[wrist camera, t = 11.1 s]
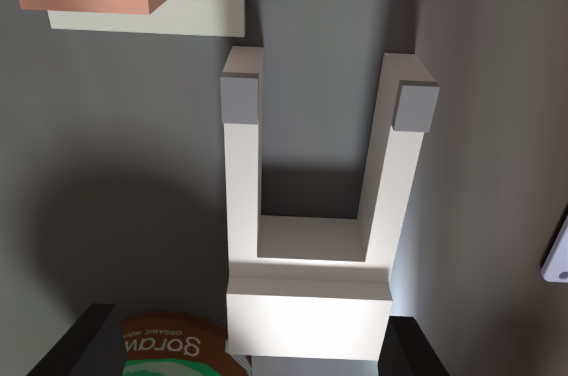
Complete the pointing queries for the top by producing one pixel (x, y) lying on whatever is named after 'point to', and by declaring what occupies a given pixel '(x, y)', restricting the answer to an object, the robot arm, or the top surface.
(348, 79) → the top surface
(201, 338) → the food container
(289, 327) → the white u-shaped piece
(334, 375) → the top surface
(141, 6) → the salmon pink rectangular prism
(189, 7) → the white rectangular board
